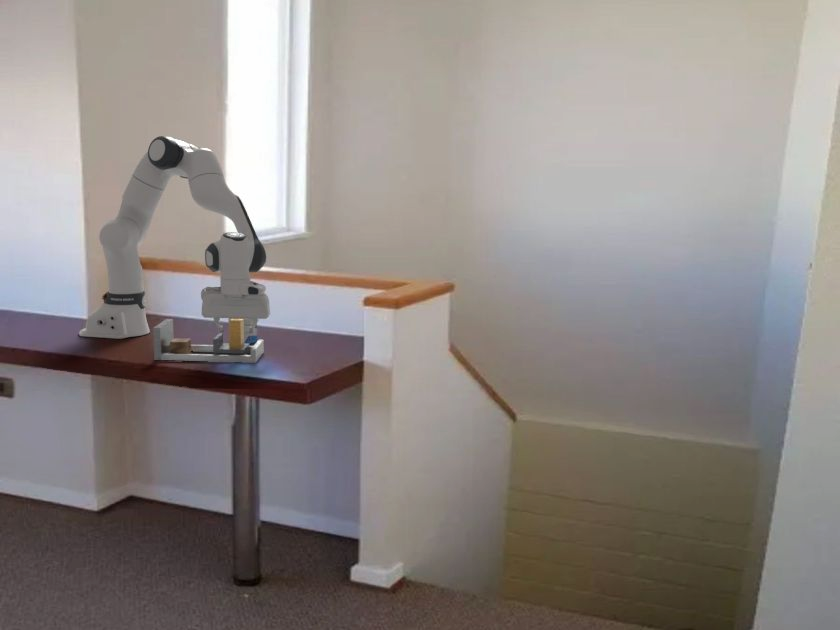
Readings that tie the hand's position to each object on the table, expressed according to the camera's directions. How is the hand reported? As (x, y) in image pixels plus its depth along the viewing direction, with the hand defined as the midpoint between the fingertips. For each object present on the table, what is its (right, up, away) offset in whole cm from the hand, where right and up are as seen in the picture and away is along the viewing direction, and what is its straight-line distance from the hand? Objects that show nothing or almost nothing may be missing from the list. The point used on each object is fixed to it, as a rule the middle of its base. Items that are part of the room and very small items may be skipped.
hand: (236, 332), depth 270 cm
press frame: (-8, -7, +1) cm, 11 cm away
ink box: (-2, -4, +21) cm, 22 cm away
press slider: (-1, -7, +1) cm, 8 cm away
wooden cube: (-17, -7, +1) cm, 19 cm away
